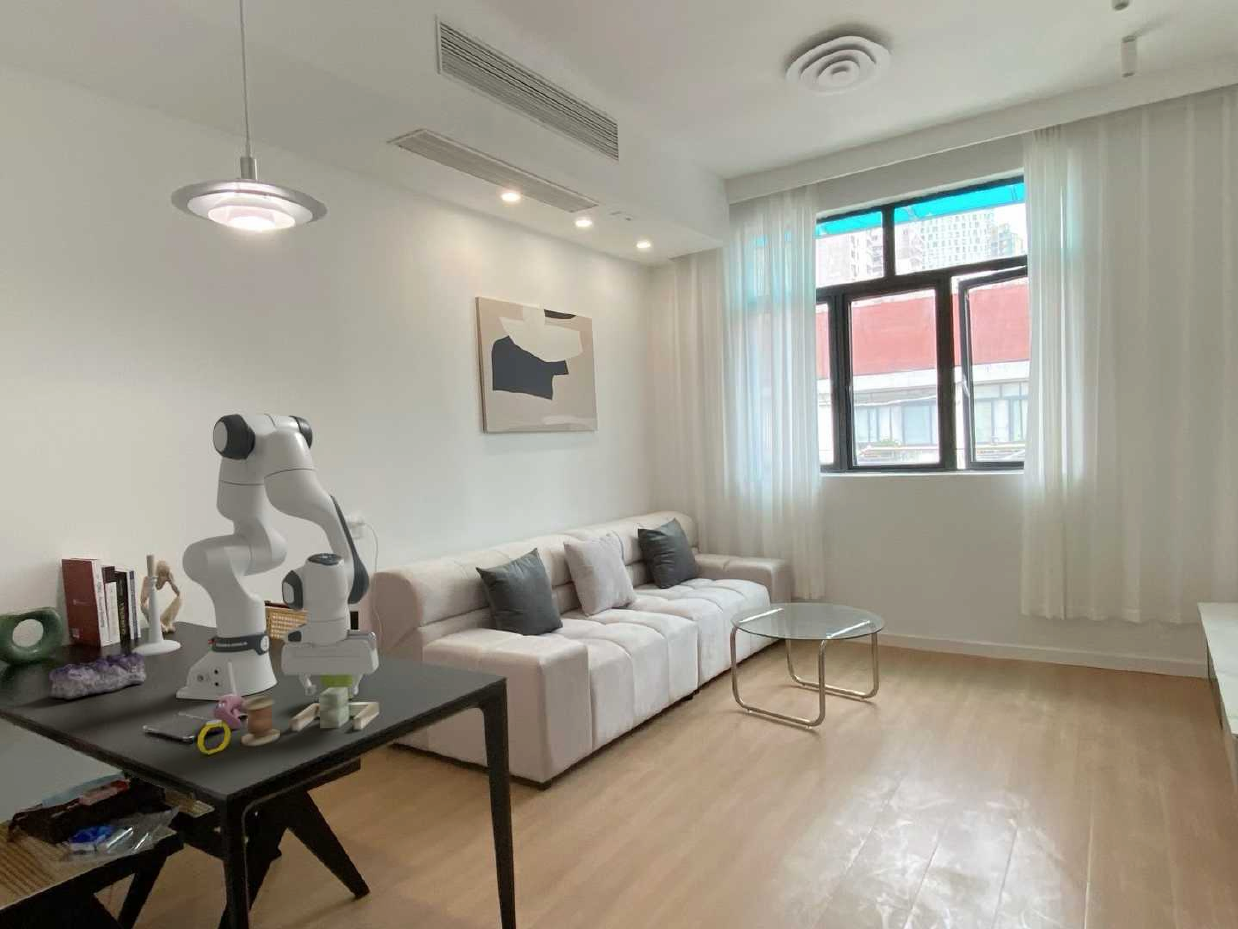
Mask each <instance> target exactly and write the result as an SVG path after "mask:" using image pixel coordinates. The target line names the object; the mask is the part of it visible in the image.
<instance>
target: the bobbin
mask: <svg viewBox="0 0 1238 929" xmlns="http://www.w3.org/2000/svg"><path fill="white" fill-rule="evenodd" d="M244 700H245V701H244V702H243V703H242V708H243V709H247V714H246V716H247V729H248V730H247V732H248V733H246V734H245V735H243V736H242V737H241V744H242V745H243V746H245V747H246V746H247V747H257V746H262V745H263V746H264V745H267V744H269V743H272V742H274V741H276V740H277V739H279V738H280V735H281V733H280V730H279V729H278V728H277V729H276V728H273V720H272V719H273V718H272V705H274V704H275V703H276V698H275V696H273V695H269V694H268V695H266V694H265V695H258V696H253V697H250V698H248V699H247V698H246V699H244Z"/></svg>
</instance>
